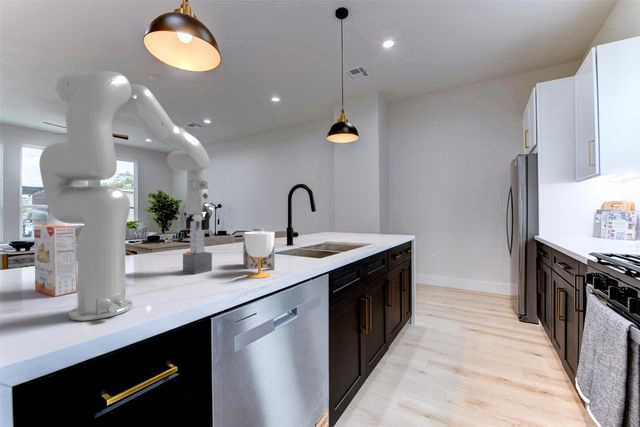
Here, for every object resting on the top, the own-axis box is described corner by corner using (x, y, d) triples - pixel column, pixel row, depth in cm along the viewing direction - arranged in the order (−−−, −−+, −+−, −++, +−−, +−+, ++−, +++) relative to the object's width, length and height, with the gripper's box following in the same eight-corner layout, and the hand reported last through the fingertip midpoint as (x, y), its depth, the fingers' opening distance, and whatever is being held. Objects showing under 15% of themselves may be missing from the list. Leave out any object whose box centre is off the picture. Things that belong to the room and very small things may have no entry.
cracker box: (33, 291, 88) (32, 225, 88) (58, 286, 93) (57, 224, 93) (52, 297, 81) (52, 226, 81) (78, 292, 87) (77, 225, 86)
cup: (277, 272, 115) (277, 231, 115) (269, 279, 103) (270, 233, 103) (250, 271, 116) (250, 231, 116) (239, 278, 104) (239, 233, 104)
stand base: (220, 273, 113) (219, 250, 113) (193, 279, 103) (193, 253, 103) (201, 270, 119) (201, 248, 119) (174, 275, 109) (174, 251, 109)
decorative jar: (243, 267, 126) (243, 227, 126) (268, 265, 131) (268, 227, 131) (247, 272, 116) (247, 229, 115) (275, 269, 120) (275, 228, 120)
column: (204, 271, 111) (204, 221, 111) (194, 273, 108) (194, 221, 108) (198, 270, 113) (198, 221, 113) (189, 272, 110) (188, 221, 109)
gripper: (219, 186, 109) (219, 229, 109) (192, 188, 118) (192, 228, 118) (202, 184, 103) (203, 230, 103) (175, 186, 112) (175, 229, 112)
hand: (197, 229), depth 111 cm, fingers open, 9 cm apart
